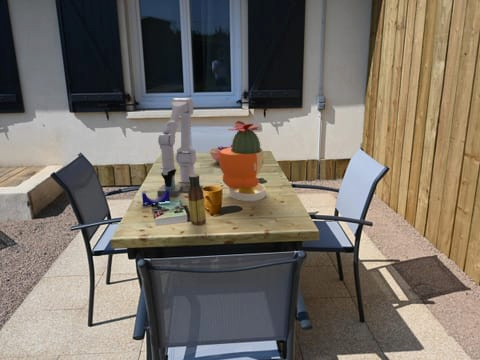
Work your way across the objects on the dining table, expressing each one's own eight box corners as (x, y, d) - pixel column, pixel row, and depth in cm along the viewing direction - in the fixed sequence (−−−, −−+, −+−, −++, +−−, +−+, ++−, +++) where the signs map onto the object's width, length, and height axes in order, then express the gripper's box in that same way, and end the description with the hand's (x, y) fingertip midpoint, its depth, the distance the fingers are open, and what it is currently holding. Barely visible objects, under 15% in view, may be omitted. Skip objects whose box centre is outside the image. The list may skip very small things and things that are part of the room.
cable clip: (168, 200, 193) (167, 188, 191) (170, 203, 189) (169, 190, 187) (142, 203, 190) (141, 190, 188) (143, 206, 186) (142, 193, 184)
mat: (185, 186, 212) (185, 185, 212) (202, 187, 211) (202, 185, 211) (181, 192, 203) (181, 191, 203) (199, 192, 203) (199, 191, 202)
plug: (167, 190, 205) (166, 175, 203) (175, 190, 205) (174, 175, 203) (165, 193, 202) (164, 177, 199) (173, 193, 201) (172, 177, 199)
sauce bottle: (206, 219, 168) (204, 172, 163) (205, 225, 162) (203, 177, 157) (190, 220, 168) (187, 173, 162) (189, 226, 162) (186, 177, 157)
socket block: (163, 189, 209) (163, 184, 208) (182, 189, 208) (182, 184, 207) (157, 196, 199) (157, 191, 198) (177, 196, 198) (177, 191, 197)
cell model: (211, 159, 268) (210, 142, 265) (242, 159, 267) (241, 142, 264) (208, 166, 252) (207, 148, 249) (241, 165, 251) (240, 147, 248)
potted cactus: (254, 185, 212) (253, 117, 202) (273, 198, 192) (273, 123, 182) (214, 191, 204) (211, 120, 195) (229, 205, 185) (227, 127, 175)
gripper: (163, 154, 206) (165, 180, 210) (155, 161, 192) (157, 189, 196) (177, 154, 205) (179, 181, 209) (170, 161, 191) (172, 189, 195)
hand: (169, 185), depth 202 cm, fingers closed on plug, 4 cm apart
